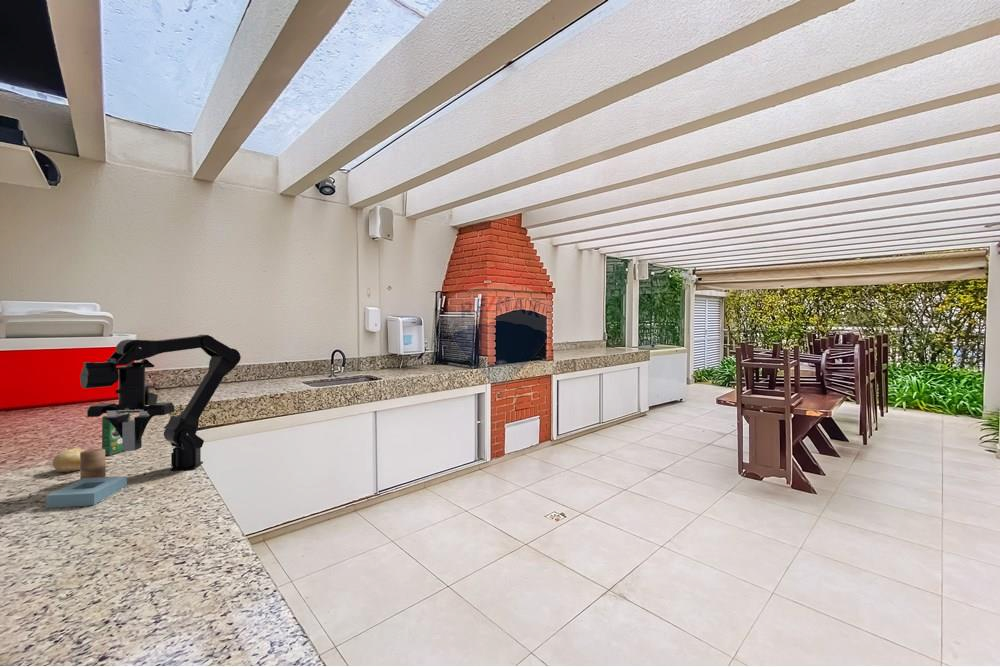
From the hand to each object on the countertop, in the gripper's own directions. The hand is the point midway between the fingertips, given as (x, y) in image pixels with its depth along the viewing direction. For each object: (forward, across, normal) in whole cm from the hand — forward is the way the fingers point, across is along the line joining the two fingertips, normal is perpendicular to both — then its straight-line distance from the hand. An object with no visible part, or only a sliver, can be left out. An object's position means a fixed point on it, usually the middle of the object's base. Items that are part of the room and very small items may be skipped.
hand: (132, 440), depth 124 cm
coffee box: (+11, +22, -30) cm, 39 cm away
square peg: (+3, 0, 0) cm, 3 cm away
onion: (+12, +23, -12) cm, 28 cm away
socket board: (+11, +3, +12) cm, 17 cm away
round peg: (+11, +11, -2) cm, 16 cm away
